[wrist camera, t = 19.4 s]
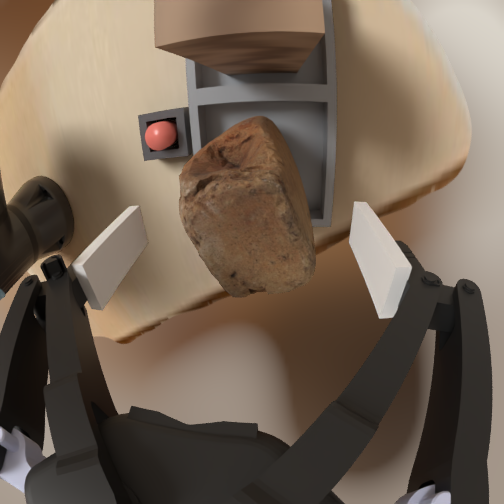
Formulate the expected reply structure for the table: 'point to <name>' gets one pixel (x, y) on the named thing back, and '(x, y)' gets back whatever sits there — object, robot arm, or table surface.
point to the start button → (161, 134)
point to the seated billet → (240, 33)
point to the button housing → (182, 128)
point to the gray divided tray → (278, 113)
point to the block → (249, 210)
